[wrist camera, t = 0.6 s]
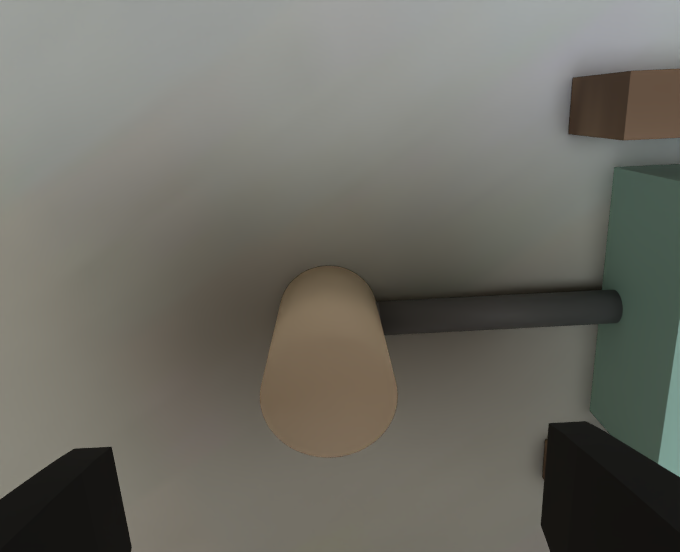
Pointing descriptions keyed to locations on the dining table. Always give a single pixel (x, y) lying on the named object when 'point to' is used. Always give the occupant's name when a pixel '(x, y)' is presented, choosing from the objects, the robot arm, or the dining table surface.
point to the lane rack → (626, 109)
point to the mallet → (487, 314)
